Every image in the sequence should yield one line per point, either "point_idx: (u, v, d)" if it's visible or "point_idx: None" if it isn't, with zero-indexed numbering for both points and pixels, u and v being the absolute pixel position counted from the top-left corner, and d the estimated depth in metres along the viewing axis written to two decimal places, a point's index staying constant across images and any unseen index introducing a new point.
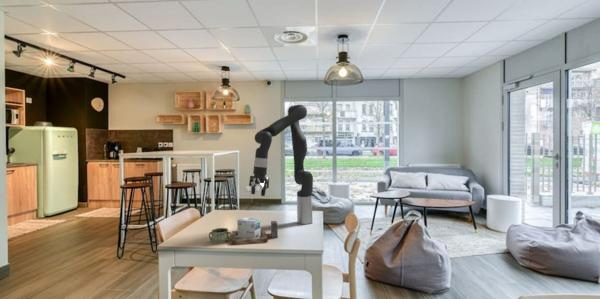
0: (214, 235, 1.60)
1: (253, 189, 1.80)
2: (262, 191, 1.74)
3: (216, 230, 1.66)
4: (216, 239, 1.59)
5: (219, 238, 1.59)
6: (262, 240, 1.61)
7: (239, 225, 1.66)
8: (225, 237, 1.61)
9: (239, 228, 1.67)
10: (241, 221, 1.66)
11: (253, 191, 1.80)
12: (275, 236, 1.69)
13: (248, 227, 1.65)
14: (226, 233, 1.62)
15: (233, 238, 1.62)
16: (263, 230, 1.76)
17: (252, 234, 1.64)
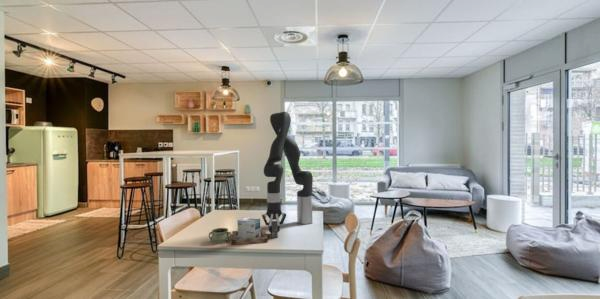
0: (214, 235, 1.60)
1: (271, 227, 1.70)
2: (278, 228, 1.70)
3: (216, 230, 1.66)
4: (216, 239, 1.59)
5: (219, 238, 1.59)
6: (262, 240, 1.61)
7: (239, 225, 1.66)
8: (225, 237, 1.61)
9: (239, 228, 1.67)
10: (241, 221, 1.66)
11: (271, 229, 1.71)
12: (275, 236, 1.69)
13: (248, 227, 1.65)
14: (226, 233, 1.62)
15: (233, 238, 1.62)
16: (263, 230, 1.76)
17: (252, 234, 1.64)
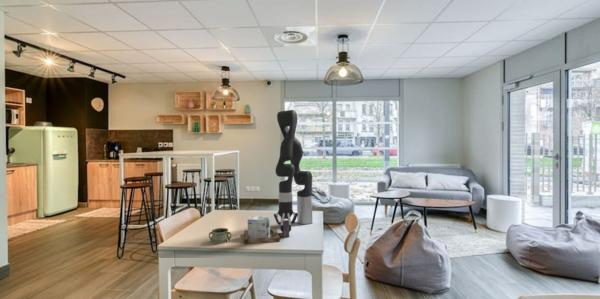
0: (214, 235, 1.60)
1: None
2: (289, 227, 1.72)
3: (216, 230, 1.66)
4: (216, 239, 1.59)
5: (219, 238, 1.59)
6: (274, 239, 1.62)
7: (249, 224, 1.68)
8: (225, 237, 1.61)
9: (249, 227, 1.68)
10: (252, 220, 1.67)
11: None
12: (287, 235, 1.70)
13: (259, 225, 1.67)
14: (226, 233, 1.62)
15: (245, 237, 1.63)
16: (274, 229, 1.77)
17: (263, 233, 1.66)
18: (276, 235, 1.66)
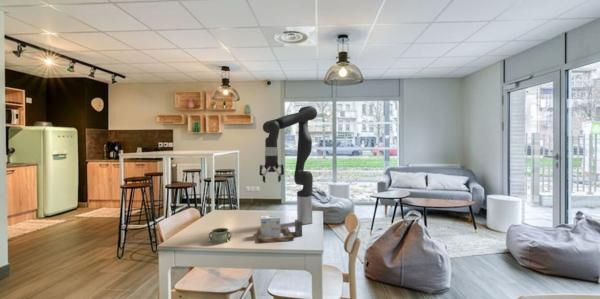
0: (214, 235, 1.60)
1: None
2: (279, 178, 1.85)
3: (216, 230, 1.66)
4: (216, 239, 1.59)
5: (219, 238, 1.59)
6: (288, 238, 1.63)
7: (263, 223, 1.69)
8: (225, 237, 1.61)
9: (263, 226, 1.69)
10: (266, 219, 1.70)
11: None
12: (300, 234, 1.71)
13: (273, 224, 1.70)
14: (226, 233, 1.62)
15: (259, 236, 1.64)
16: (287, 229, 1.79)
17: (277, 231, 1.71)
18: (289, 234, 1.68)
